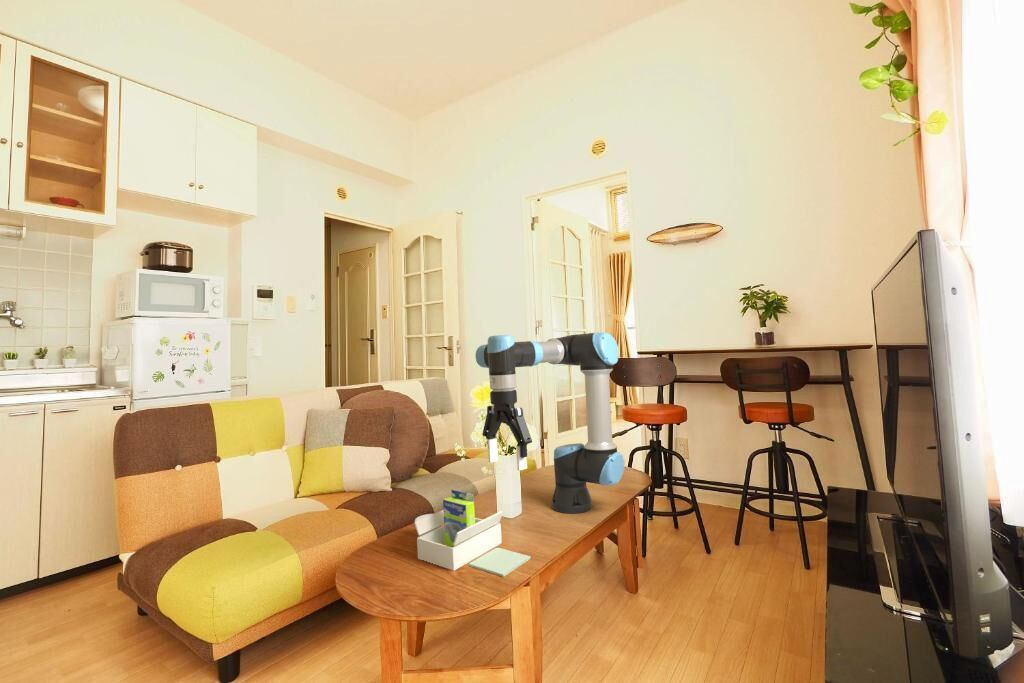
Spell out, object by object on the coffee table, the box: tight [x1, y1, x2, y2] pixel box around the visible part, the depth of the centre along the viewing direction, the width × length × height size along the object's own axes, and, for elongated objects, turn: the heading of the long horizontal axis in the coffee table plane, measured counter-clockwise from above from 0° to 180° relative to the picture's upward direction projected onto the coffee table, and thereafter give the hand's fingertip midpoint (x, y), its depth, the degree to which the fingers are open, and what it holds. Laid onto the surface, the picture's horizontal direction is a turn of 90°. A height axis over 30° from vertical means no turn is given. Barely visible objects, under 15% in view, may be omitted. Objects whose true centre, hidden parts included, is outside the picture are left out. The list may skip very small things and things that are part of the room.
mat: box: [468, 546, 532, 578], centre depth 131 cm, size 12×12×1 cm
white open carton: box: [416, 517, 503, 572], centre depth 140 cm, size 21×15×6 cm
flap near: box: [453, 510, 504, 546], centre depth 136 cm, size 20×1×4 cm, turn 143°
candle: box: [414, 513, 443, 537], centre depth 152 cm, size 9×9×6 cm
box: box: [442, 489, 476, 547], centre depth 140 cm, size 11×4×17 cm, turn 50°
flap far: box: [413, 509, 444, 536], centre depth 145 cm, size 20×1×4 cm, turn 143°
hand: (507, 465), depth 130 cm, fingers open, 13 cm apart
